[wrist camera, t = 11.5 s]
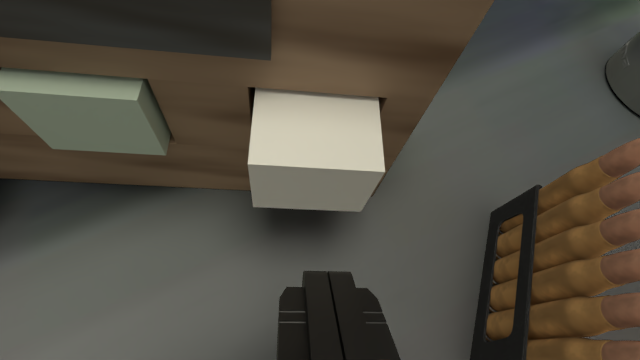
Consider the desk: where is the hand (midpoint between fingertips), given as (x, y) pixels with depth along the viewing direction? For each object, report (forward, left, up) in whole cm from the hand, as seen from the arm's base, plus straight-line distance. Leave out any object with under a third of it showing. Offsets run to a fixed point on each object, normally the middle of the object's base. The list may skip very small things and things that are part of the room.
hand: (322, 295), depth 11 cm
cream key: (+4, -7, -5) cm, 9 cm away
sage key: (+14, -4, -5) cm, 15 cm away
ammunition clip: (-10, -8, -11) cm, 17 cm away
